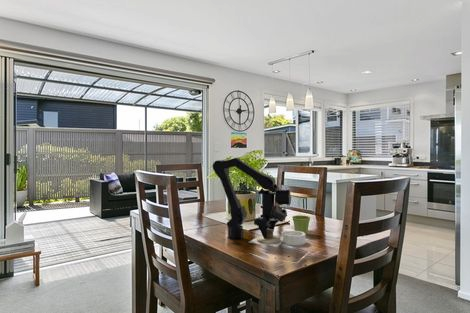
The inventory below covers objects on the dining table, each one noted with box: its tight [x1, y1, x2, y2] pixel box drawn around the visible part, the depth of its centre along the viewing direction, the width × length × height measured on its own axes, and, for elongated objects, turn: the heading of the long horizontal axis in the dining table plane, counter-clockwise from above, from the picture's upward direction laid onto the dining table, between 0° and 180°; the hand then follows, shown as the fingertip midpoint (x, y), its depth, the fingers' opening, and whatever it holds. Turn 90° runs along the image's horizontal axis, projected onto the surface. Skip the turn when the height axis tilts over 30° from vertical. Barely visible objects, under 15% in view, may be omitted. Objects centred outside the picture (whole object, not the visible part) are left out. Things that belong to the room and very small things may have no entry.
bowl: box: [282, 230, 307, 246], centre depth 140 cm, size 10×10×4 cm
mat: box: [248, 237, 284, 248], centre depth 142 cm, size 14×14×1 cm
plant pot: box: [291, 214, 312, 235], centre depth 155 cm, size 9×9×9 cm
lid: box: [256, 229, 281, 244], centre depth 142 cm, size 11×11×5 cm
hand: (268, 237), depth 142 cm, fingers open, 7 cm apart
